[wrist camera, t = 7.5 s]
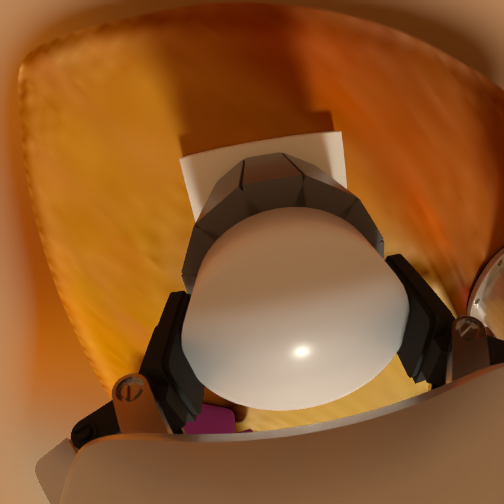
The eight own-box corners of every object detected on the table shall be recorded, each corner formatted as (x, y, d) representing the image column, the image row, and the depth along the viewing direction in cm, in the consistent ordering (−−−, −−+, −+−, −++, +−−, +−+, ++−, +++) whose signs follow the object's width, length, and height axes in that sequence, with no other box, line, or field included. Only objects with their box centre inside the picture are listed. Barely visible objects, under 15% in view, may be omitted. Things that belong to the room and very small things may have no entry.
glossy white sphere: (344, 172, 13) (423, 224, 6) (349, 296, 16) (390, 387, 10) (192, 197, 13) (144, 271, 7) (226, 317, 16) (218, 417, 10)
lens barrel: (334, 130, 18) (400, 143, 9) (344, 262, 23) (387, 340, 14) (184, 156, 19) (132, 187, 10) (218, 283, 24) (204, 370, 15)
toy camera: (252, 433, 37) (252, 486, 28) (168, 424, 36) (158, 476, 27) (261, 401, 32) (263, 468, 23) (158, 390, 31) (142, 454, 22)
